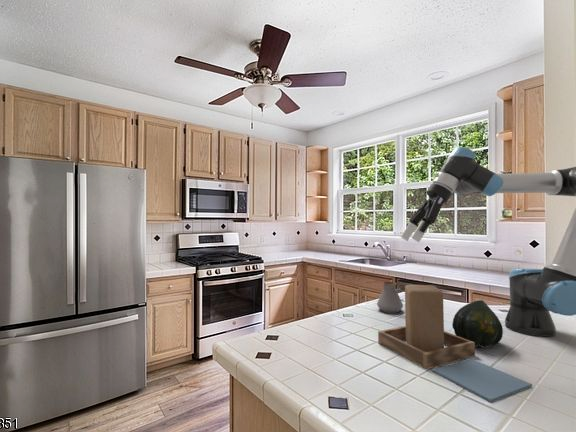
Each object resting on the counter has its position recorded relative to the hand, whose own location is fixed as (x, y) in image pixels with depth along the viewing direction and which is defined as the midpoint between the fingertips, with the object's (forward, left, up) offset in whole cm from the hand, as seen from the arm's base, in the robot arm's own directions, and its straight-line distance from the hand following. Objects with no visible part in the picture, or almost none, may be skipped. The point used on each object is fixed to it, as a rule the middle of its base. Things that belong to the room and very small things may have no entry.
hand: (409, 239), depth 108 cm
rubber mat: (+3, +27, -35) cm, 45 cm away
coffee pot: (-19, -26, -36) cm, 48 cm away
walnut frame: (+2, +7, -35) cm, 36 cm away
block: (+2, +7, -36) cm, 36 cm away
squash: (-19, +11, -36) cm, 42 cm away
